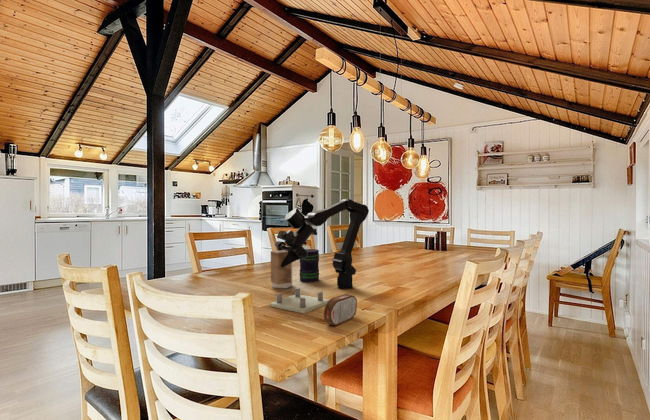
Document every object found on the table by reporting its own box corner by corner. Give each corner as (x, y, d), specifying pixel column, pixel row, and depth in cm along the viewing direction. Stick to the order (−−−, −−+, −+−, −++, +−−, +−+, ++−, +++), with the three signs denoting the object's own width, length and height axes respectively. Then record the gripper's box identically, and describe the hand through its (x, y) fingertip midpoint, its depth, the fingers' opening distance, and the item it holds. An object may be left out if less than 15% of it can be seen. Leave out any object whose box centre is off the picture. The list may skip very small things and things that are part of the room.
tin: (351, 315, 123) (351, 290, 123) (358, 317, 121) (358, 292, 121) (323, 327, 111) (322, 300, 111) (331, 329, 109) (330, 301, 109)
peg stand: (296, 296, 147) (296, 286, 147) (329, 302, 138) (329, 291, 138) (269, 306, 134) (269, 295, 134) (304, 313, 125) (304, 301, 125)
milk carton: (272, 287, 163) (271, 246, 163) (278, 284, 170) (278, 244, 170) (286, 288, 161) (286, 246, 161) (292, 285, 168) (292, 244, 168)
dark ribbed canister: (316, 282, 173) (316, 251, 173) (297, 282, 175) (296, 251, 175) (321, 278, 183) (321, 249, 182) (302, 277, 185) (302, 248, 184)
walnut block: (284, 280, 149) (283, 250, 149) (291, 282, 144) (290, 251, 144) (270, 281, 146) (270, 251, 146) (277, 284, 141) (277, 252, 141)
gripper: (278, 222, 154) (254, 250, 148) (300, 224, 139) (275, 255, 133) (294, 239, 159) (272, 266, 153) (317, 242, 144) (294, 273, 138)
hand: (277, 265), depth 144 cm, fingers closed on walnut block, 6 cm apart
